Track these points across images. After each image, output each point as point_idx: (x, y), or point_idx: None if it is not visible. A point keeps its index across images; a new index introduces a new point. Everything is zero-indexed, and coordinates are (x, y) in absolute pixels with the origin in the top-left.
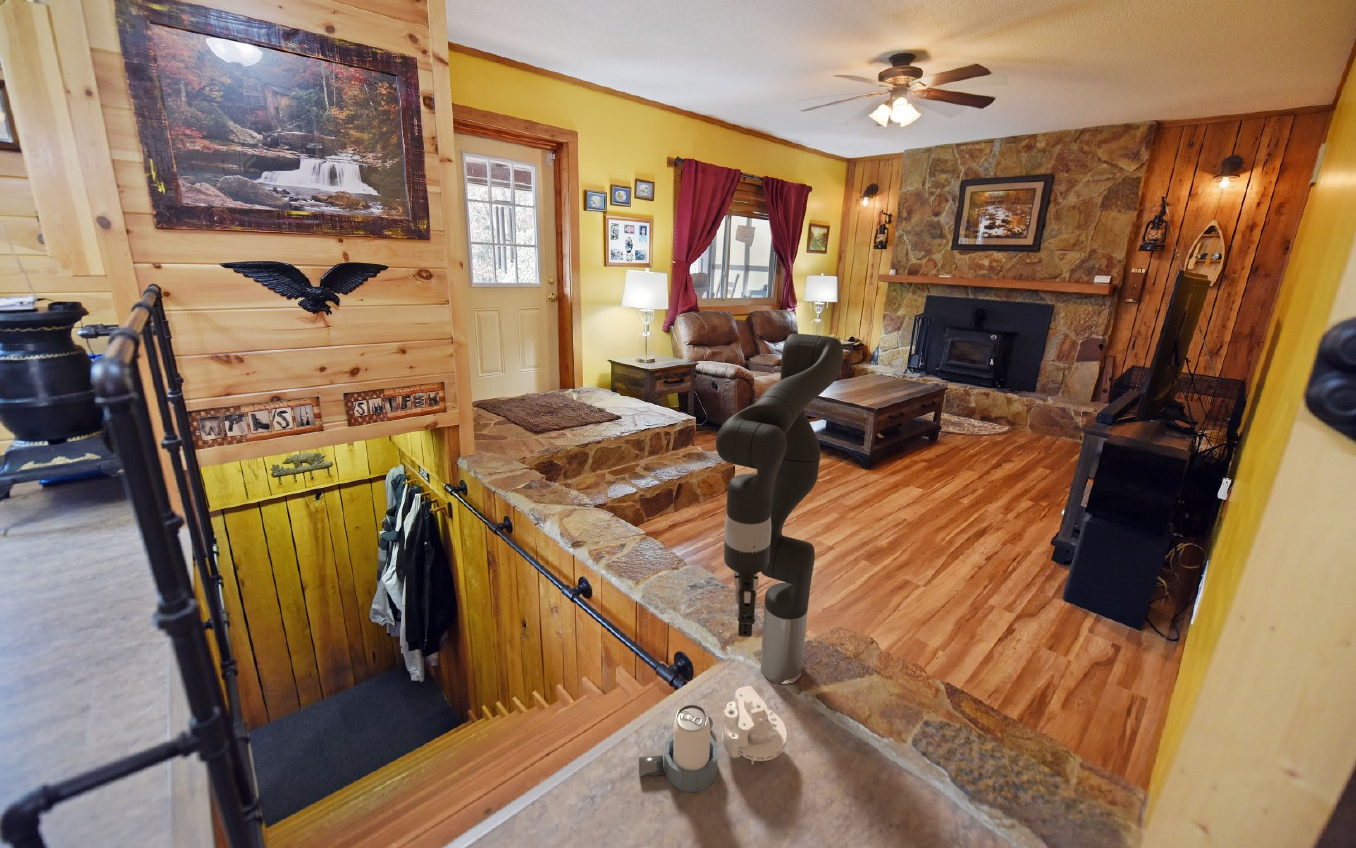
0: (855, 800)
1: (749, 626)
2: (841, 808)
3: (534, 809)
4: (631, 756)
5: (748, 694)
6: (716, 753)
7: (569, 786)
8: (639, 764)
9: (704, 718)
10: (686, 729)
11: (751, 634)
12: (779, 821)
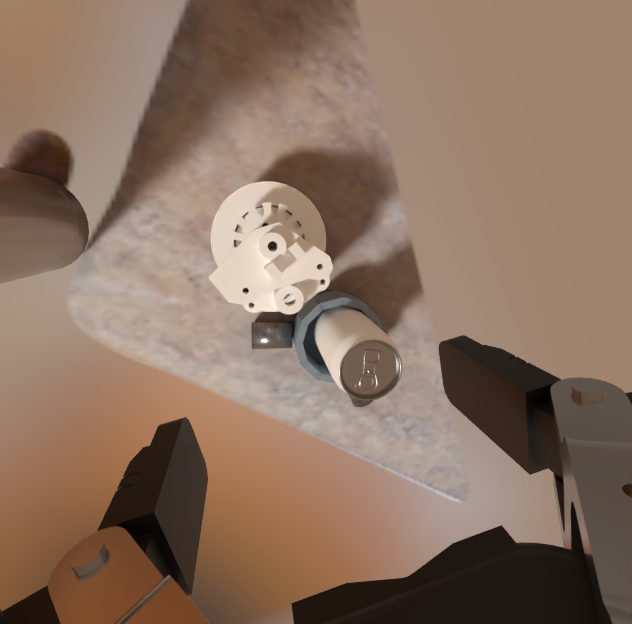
0: (304, 48)
1: (549, 375)
2: (326, 76)
3: (436, 479)
4: (339, 413)
5: (236, 276)
6: (334, 301)
7: (401, 461)
8: (371, 401)
9: (362, 347)
10: (395, 370)
11: (469, 338)
12: (375, 180)
